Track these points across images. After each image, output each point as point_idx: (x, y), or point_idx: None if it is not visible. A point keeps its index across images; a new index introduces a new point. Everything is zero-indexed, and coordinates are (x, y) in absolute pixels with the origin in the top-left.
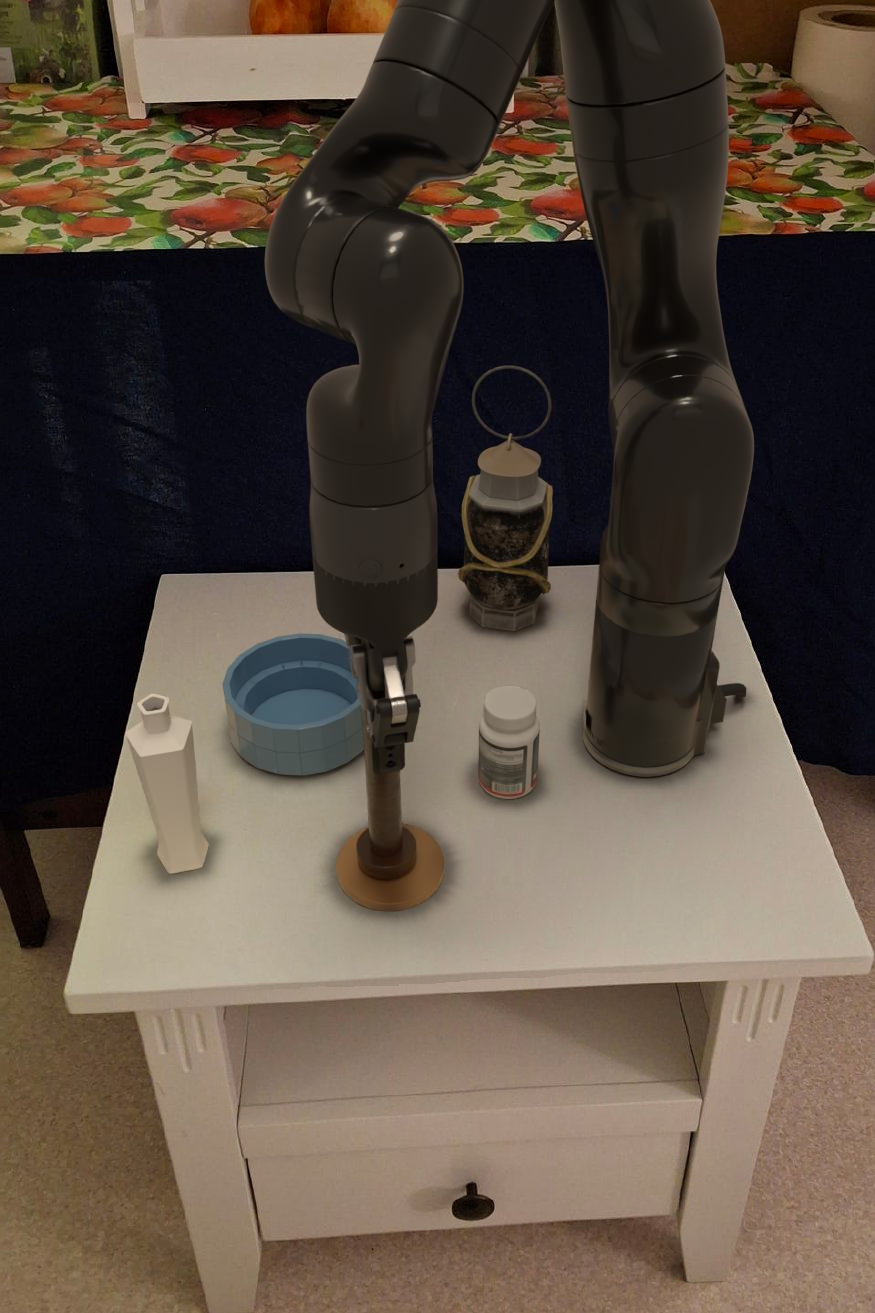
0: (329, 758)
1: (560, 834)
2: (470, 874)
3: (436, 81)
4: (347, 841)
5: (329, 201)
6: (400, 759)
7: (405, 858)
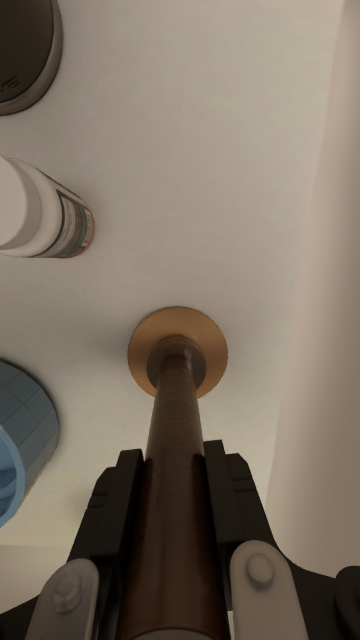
0: (43, 410)
1: (148, 178)
2: (192, 282)
3: None
4: (148, 392)
5: None
6: (253, 480)
7: (196, 353)
